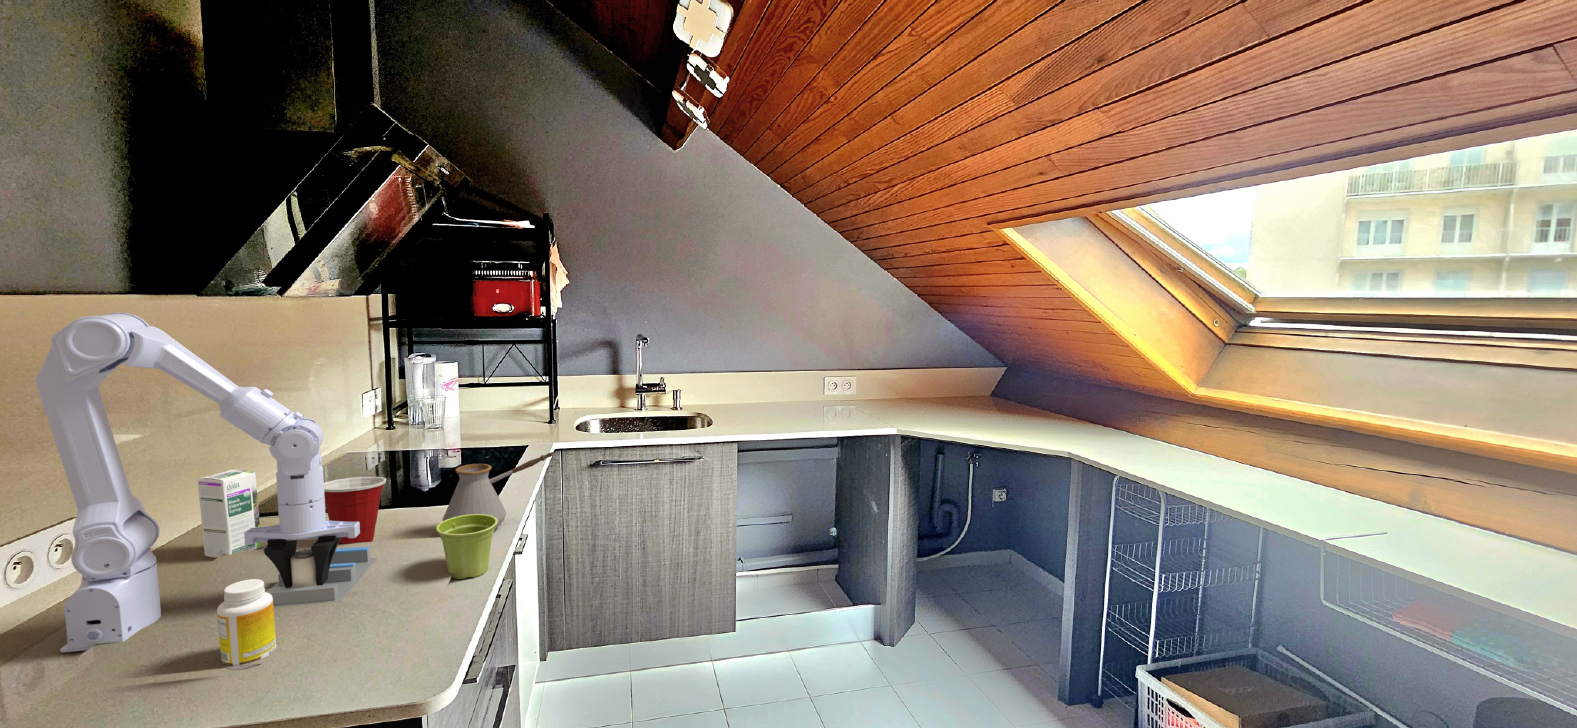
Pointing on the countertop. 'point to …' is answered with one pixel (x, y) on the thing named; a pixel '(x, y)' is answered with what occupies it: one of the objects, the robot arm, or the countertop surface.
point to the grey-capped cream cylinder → (303, 569)
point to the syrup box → (228, 511)
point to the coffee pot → (481, 491)
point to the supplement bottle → (246, 624)
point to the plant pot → (467, 543)
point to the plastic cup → (355, 504)
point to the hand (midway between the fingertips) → (306, 583)
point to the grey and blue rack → (341, 580)
